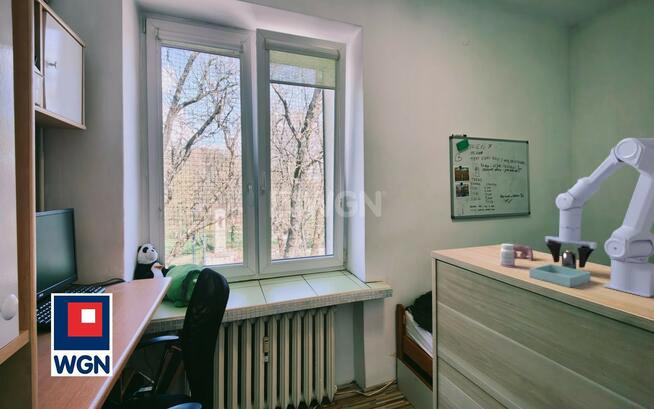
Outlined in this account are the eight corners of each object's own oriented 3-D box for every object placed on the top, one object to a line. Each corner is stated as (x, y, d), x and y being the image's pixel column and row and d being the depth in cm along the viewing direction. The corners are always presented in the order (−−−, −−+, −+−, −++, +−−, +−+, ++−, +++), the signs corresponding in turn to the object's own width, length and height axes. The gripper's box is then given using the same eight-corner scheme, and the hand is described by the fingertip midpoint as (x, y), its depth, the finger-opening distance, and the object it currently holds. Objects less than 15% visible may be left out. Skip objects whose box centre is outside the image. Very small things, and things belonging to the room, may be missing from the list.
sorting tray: (590, 281, 90) (590, 272, 90) (569, 287, 85) (570, 278, 85) (549, 272, 100) (549, 263, 100) (529, 277, 96) (529, 268, 96)
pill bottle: (516, 267, 107) (517, 245, 106) (503, 267, 108) (503, 245, 107) (511, 264, 112) (511, 243, 111) (498, 263, 113) (498, 243, 112)
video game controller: (532, 262, 118) (532, 246, 120) (533, 260, 114) (533, 243, 117) (505, 260, 123) (505, 244, 126) (505, 257, 120) (505, 241, 122)
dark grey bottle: (578, 272, 99) (579, 251, 99) (572, 273, 98) (572, 252, 97) (565, 269, 103) (565, 249, 103) (559, 270, 101) (559, 250, 101)
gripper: (602, 228, 94) (600, 268, 95) (553, 223, 108) (552, 258, 109) (590, 230, 92) (589, 271, 92) (542, 225, 105) (541, 261, 106)
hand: (568, 264), depth 100 cm, fingers open, 7 cm apart
